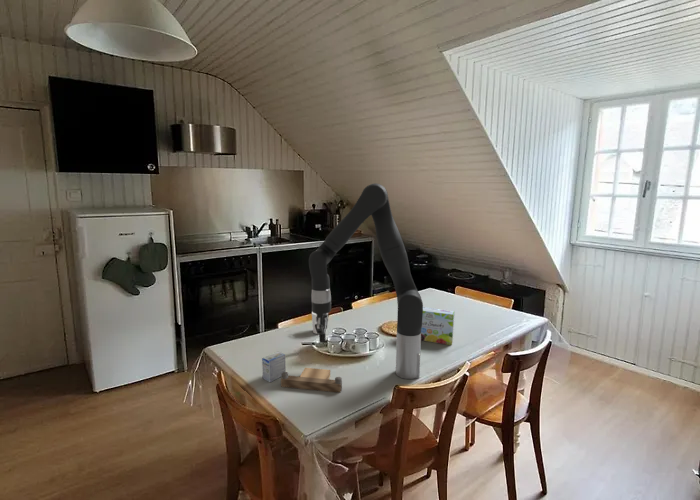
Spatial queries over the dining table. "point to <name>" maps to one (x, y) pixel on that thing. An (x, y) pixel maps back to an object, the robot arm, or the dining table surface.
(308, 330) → the dining table surface
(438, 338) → the snack box
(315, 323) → the white cup
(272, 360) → the medicine box
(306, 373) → the light wooden block
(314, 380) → the bar
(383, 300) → the dining table surface
